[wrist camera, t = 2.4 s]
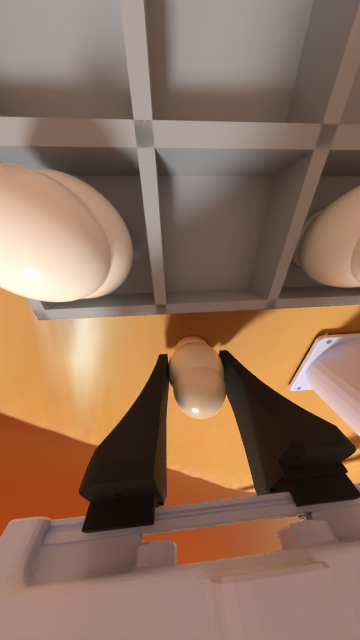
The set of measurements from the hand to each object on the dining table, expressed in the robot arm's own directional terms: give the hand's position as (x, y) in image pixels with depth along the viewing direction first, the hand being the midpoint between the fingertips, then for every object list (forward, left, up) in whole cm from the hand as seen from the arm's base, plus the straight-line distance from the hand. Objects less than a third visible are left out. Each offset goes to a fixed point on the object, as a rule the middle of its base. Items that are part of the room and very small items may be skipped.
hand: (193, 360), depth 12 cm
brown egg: (0, 0, -1) cm, 1 cm away
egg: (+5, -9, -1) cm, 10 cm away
